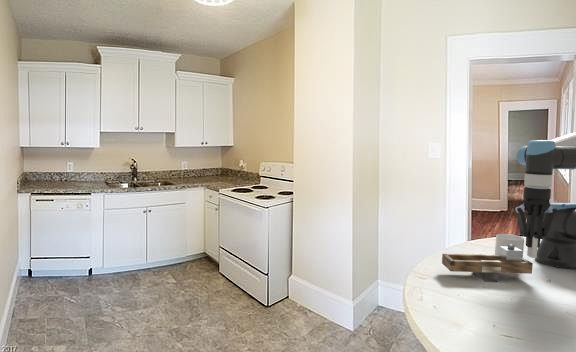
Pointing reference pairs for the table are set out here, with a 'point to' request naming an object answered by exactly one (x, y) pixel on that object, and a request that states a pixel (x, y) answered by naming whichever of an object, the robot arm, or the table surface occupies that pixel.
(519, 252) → the white block with knob
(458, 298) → the table surface
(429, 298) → the table surface
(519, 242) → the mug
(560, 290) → the table surface
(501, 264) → the beam
